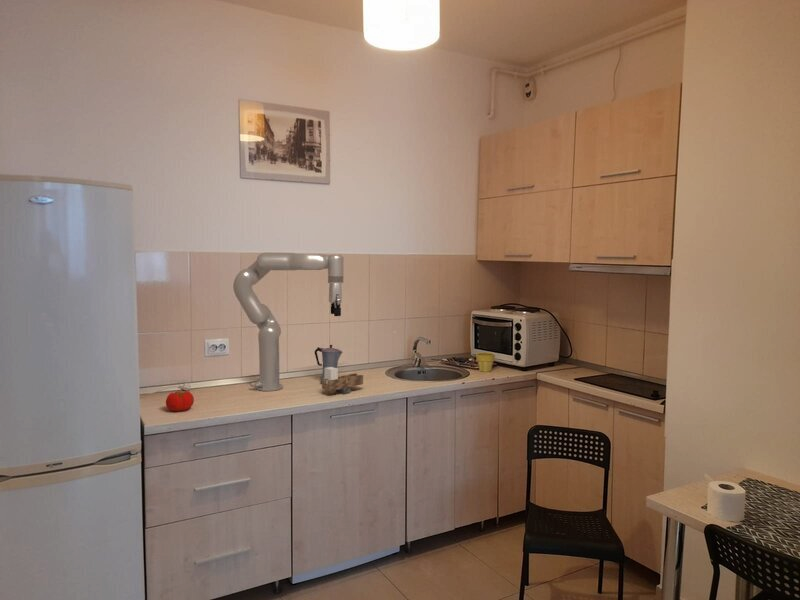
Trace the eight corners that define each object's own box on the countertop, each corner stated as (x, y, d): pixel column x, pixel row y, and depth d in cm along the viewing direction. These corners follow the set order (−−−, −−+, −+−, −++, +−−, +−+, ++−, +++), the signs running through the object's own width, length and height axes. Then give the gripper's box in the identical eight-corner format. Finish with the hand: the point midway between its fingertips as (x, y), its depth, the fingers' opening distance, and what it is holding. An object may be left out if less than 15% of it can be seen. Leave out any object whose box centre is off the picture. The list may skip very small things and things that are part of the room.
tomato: (196, 405, 235) (195, 388, 235) (190, 413, 224) (189, 395, 224) (170, 406, 234) (169, 389, 233) (162, 414, 223) (162, 396, 222)
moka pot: (339, 386, 273) (339, 346, 271) (310, 384, 276) (310, 345, 274) (345, 381, 282) (345, 343, 281) (317, 380, 285) (317, 342, 284)
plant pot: (484, 368, 321) (484, 351, 320) (498, 371, 313) (498, 354, 312) (472, 370, 314) (472, 353, 313) (485, 373, 306) (486, 356, 306)
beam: (329, 397, 251) (330, 381, 251) (321, 394, 256) (321, 379, 255) (363, 390, 265) (363, 375, 265) (355, 387, 270) (355, 373, 269)
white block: (330, 385, 252) (330, 369, 252) (324, 383, 256) (324, 367, 255) (337, 384, 255) (337, 368, 254) (331, 382, 259) (331, 366, 258)
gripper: (325, 279, 273) (325, 313, 275) (331, 281, 257) (331, 317, 258) (340, 279, 276) (340, 312, 277) (346, 280, 259) (346, 316, 260)
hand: (335, 314), depth 268 cm, fingers open, 9 cm apart
